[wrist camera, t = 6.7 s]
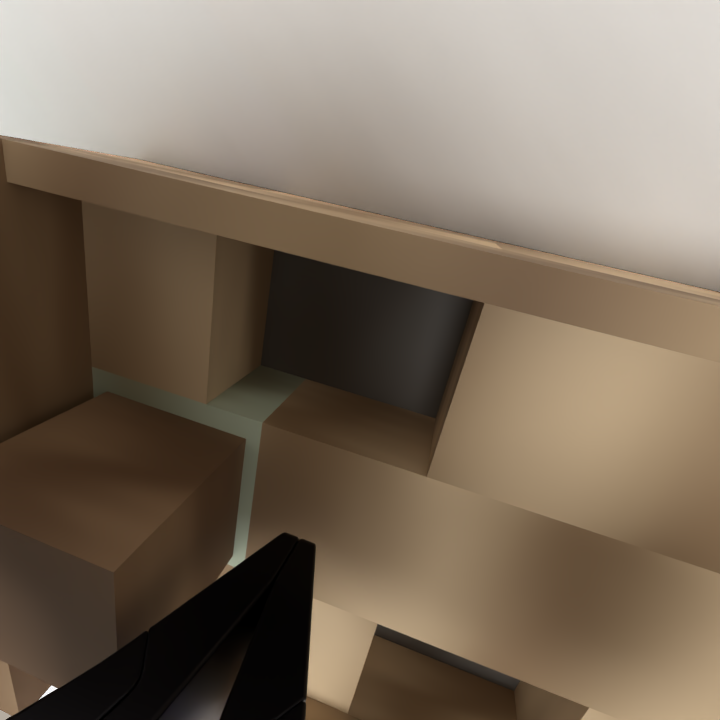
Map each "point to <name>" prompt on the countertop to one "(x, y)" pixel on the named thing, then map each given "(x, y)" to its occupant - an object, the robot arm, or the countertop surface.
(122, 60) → the countertop surface
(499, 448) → the wooden tray
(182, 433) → the block
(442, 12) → the countertop surface
